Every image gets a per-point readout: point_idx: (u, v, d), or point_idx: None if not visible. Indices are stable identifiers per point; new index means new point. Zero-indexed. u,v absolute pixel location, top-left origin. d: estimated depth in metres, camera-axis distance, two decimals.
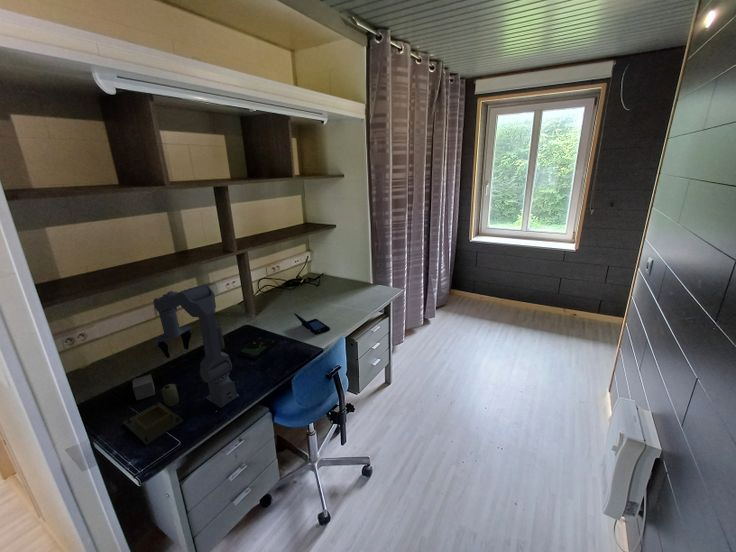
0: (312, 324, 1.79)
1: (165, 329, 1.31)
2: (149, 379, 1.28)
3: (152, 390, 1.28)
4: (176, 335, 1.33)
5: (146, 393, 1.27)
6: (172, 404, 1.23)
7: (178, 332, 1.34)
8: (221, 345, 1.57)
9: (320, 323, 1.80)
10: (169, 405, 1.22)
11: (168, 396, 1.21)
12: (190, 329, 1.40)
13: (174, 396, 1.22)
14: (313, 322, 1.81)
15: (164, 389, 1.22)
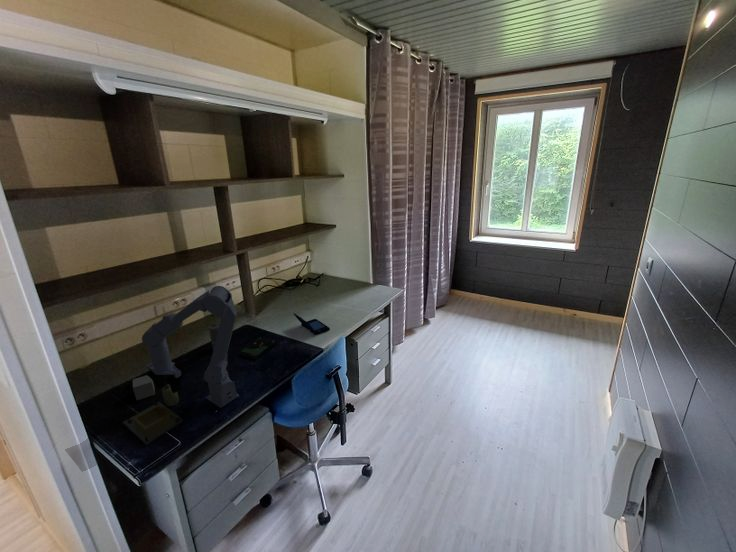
0: (312, 324, 1.79)
1: None
2: (149, 379, 1.28)
3: (152, 390, 1.28)
4: (155, 372, 1.17)
5: (146, 393, 1.27)
6: (172, 404, 1.23)
7: (158, 371, 1.17)
8: None
9: (320, 323, 1.80)
10: (169, 405, 1.22)
11: (168, 396, 1.21)
12: (174, 375, 1.17)
13: (174, 396, 1.22)
14: (313, 322, 1.81)
15: (164, 389, 1.22)
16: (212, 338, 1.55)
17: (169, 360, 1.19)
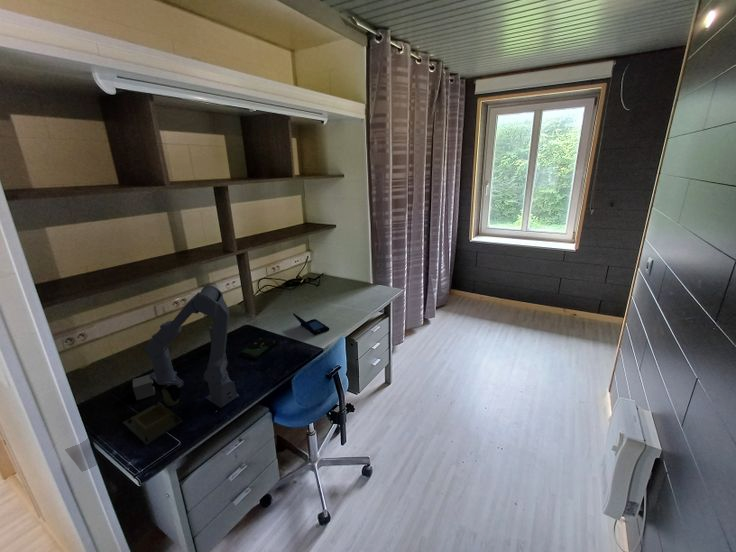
0: (311, 324, 1.79)
1: None
2: (149, 379, 1.28)
3: (152, 390, 1.28)
4: (158, 382, 1.18)
5: (146, 393, 1.27)
6: (172, 404, 1.23)
7: (161, 380, 1.18)
8: None
9: (319, 323, 1.80)
10: (169, 405, 1.22)
11: (168, 396, 1.21)
12: (177, 385, 1.18)
13: None
14: (312, 322, 1.81)
15: (164, 389, 1.22)
16: None
17: (171, 370, 1.20)
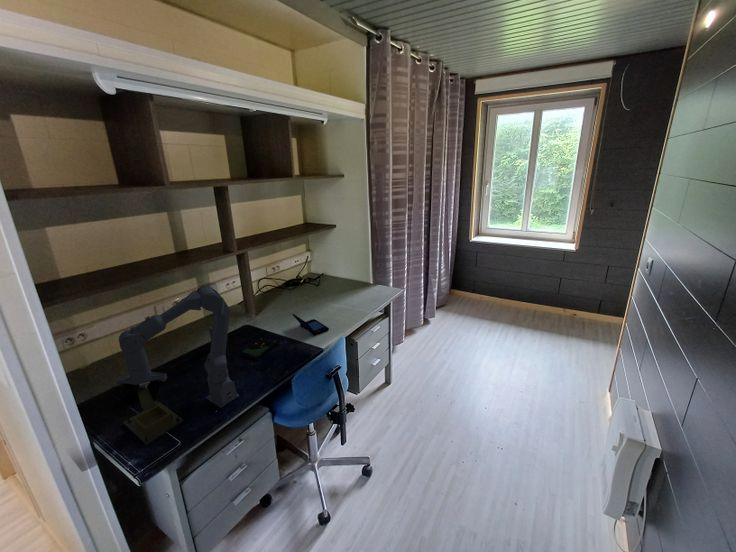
0: (311, 324, 1.78)
1: (128, 370, 1.05)
2: None
3: None
4: (136, 382, 1.05)
5: None
6: (153, 405, 1.11)
7: (140, 379, 1.05)
8: None
9: (319, 323, 1.79)
10: (150, 407, 1.10)
11: (148, 396, 1.09)
12: (162, 379, 1.08)
13: None
14: (311, 322, 1.81)
15: (141, 391, 1.09)
16: None
17: (149, 366, 1.08)
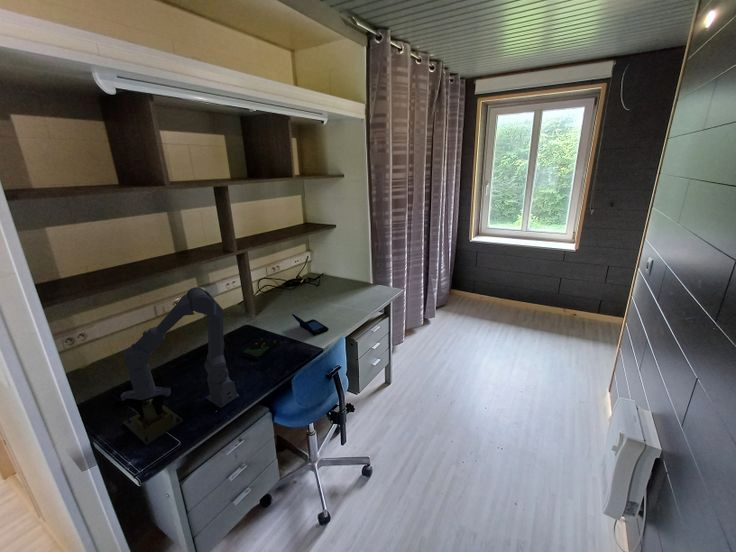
0: (310, 325, 1.78)
1: None
2: None
3: None
4: (141, 397, 1.07)
5: None
6: (157, 419, 1.13)
7: (145, 394, 1.07)
8: None
9: (318, 323, 1.79)
10: (154, 421, 1.12)
11: (153, 411, 1.11)
12: (166, 394, 1.10)
13: None
14: (311, 323, 1.80)
15: (145, 405, 1.11)
16: None
17: (153, 381, 1.10)
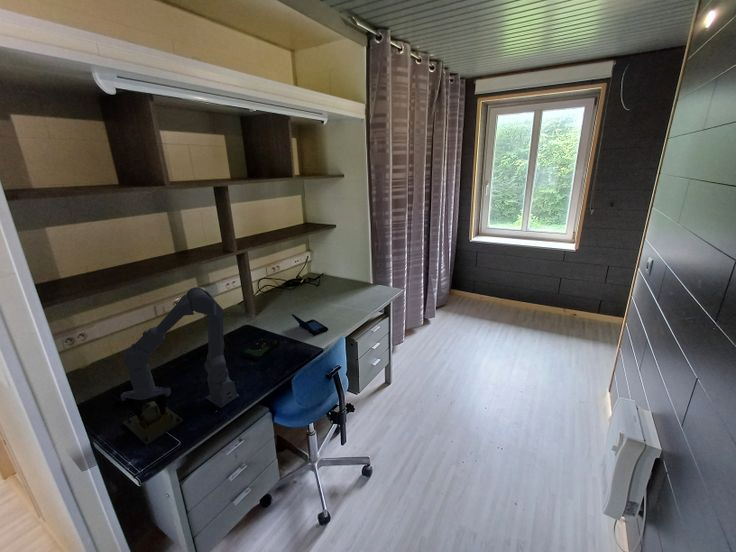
0: (310, 325, 1.78)
1: None
2: None
3: None
4: (141, 397, 1.07)
5: None
6: None
7: (145, 394, 1.07)
8: None
9: (318, 324, 1.79)
10: None
11: (153, 414, 1.11)
12: (166, 394, 1.10)
13: (158, 412, 1.13)
14: (311, 323, 1.80)
15: (146, 408, 1.11)
16: None
17: (153, 381, 1.10)
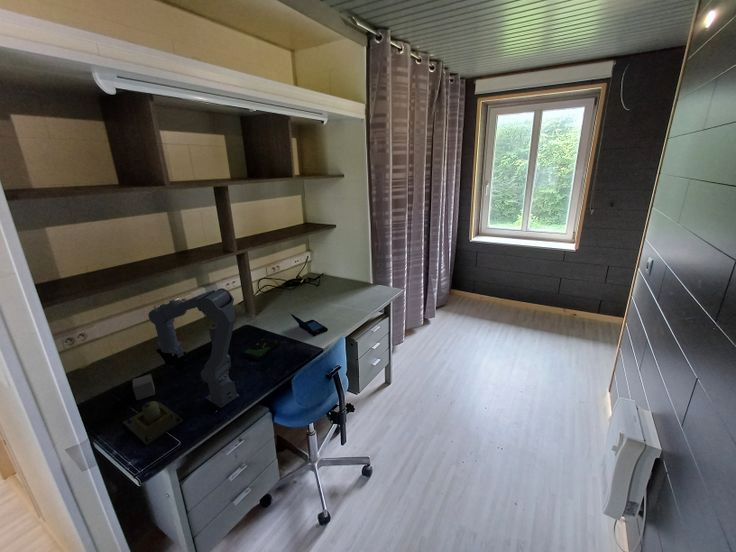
0: (309, 325, 1.78)
1: None
2: (149, 379, 1.28)
3: (152, 390, 1.28)
4: (161, 350, 1.23)
5: (146, 393, 1.27)
6: None
7: (164, 349, 1.22)
8: None
9: (317, 324, 1.79)
10: None
11: (153, 413, 1.11)
12: (177, 355, 1.21)
13: (158, 412, 1.13)
14: (310, 323, 1.80)
15: (145, 408, 1.11)
16: (212, 338, 1.55)
17: (174, 340, 1.23)
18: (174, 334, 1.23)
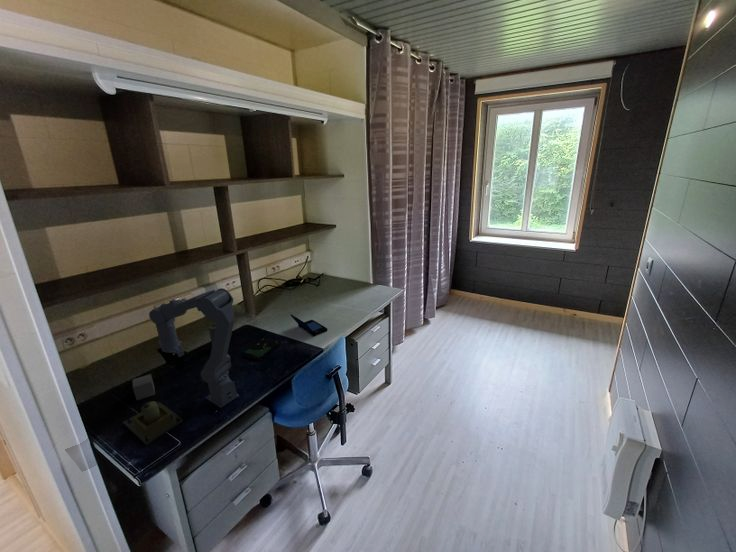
0: (309, 325, 1.78)
1: None
2: (149, 379, 1.28)
3: (152, 390, 1.28)
4: (162, 349, 1.23)
5: (146, 393, 1.27)
6: None
7: (164, 348, 1.22)
8: None
9: (317, 324, 1.79)
10: None
11: (152, 414, 1.11)
12: (177, 354, 1.21)
13: (157, 412, 1.13)
14: (310, 323, 1.80)
15: (145, 408, 1.11)
16: (212, 338, 1.55)
17: (175, 339, 1.24)
18: (175, 334, 1.23)
